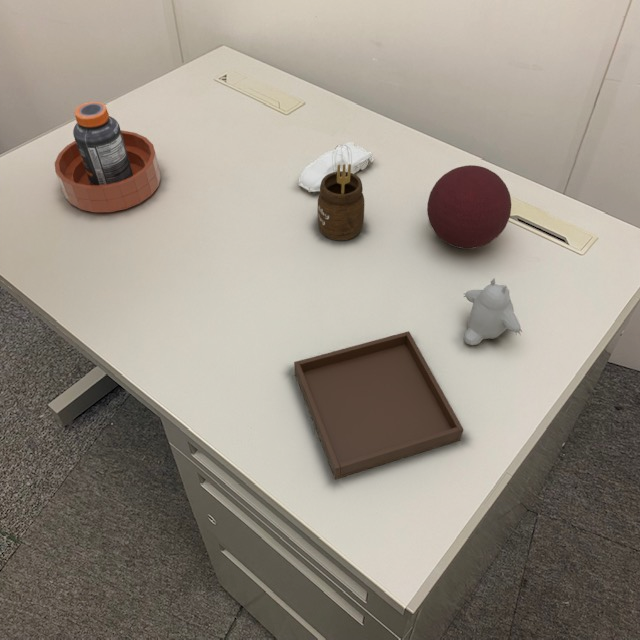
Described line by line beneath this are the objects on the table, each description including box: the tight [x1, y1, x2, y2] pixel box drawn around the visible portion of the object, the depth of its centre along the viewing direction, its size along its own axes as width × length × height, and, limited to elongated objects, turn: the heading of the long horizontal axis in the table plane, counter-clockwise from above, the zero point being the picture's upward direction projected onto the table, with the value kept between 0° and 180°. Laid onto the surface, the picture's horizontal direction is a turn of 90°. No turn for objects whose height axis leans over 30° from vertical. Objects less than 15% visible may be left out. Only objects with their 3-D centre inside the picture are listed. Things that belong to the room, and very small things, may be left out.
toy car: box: [298, 141, 375, 193], centre depth 90 cm, size 5×12×4 cm, turn 135°
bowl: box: [54, 130, 162, 213], centre depth 89 cm, size 13×13×4 cm
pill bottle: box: [72, 101, 133, 185], centre depth 86 cm, size 6×6×11 cm
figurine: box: [463, 277, 523, 346], centre depth 69 cm, size 8×6×8 cm
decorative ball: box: [426, 164, 512, 250], centre depth 79 cm, size 10×10×10 cm
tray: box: [293, 331, 465, 480], centre depth 65 cm, size 13×13×2 cm
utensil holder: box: [317, 143, 365, 241], centre depth 79 cm, size 6×6×12 cm
